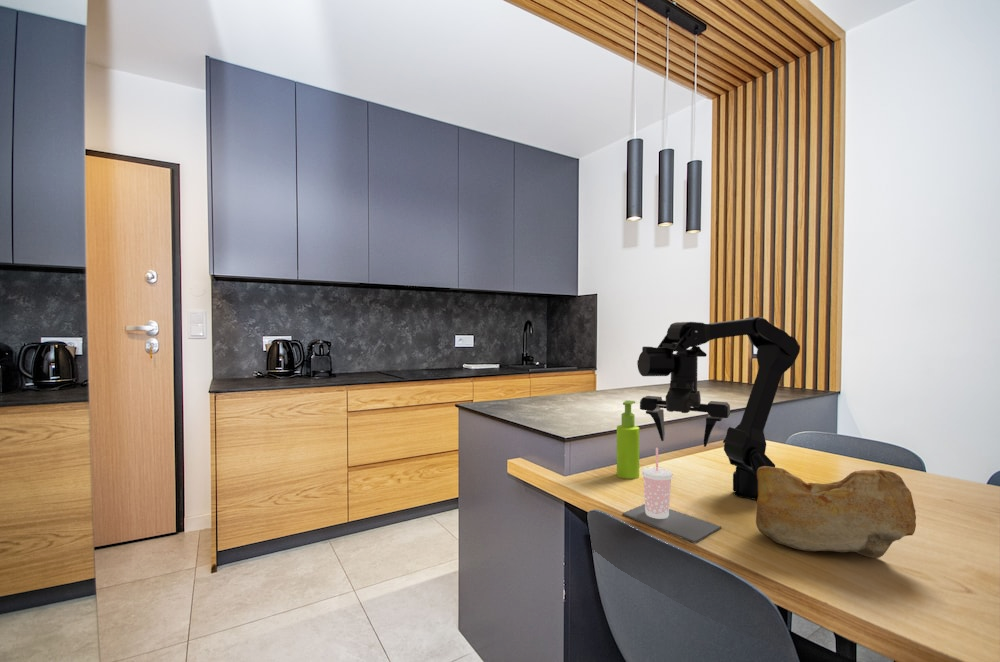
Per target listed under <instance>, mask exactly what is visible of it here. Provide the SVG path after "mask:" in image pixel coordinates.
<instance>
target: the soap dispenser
mask: <svg viewBox="0 0 1000 662" xmlns="http://www.w3.org/2000/svg"><path fill="white" fill-rule="evenodd" d="M633 404H636V401H635V400H625V401H623V403H622V405H624V412H623V413H621V424H618V425H617V426H616V476H617V477H619V478H621V479H627V480H635V479H639V478H640V427H639V426H637V425H635V419H636V418H635V417H636V416H635V413H633V412H632V405H633Z"/></svg>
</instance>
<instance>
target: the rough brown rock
mask: <svg viewBox="0 0 1000 662" xmlns="http://www.w3.org/2000/svg"><path fill="white" fill-rule="evenodd" d="M757 479H758V500H756V514H755V524H756V525H755V526H756V528H757V529H758V531H759V532H760V533H761V534H763V535H765V536H767V537H768V538H770V539H771V540H772V541H774V542H775V543H777V544H780V545H784V546H786V547H790V548H793V549H796V550H799V551H807V552H817V551H818V552H819V551H822V552H836V553H837V552H839V553H848V552H855V553H857V554H859V555H861V556H863V557H864V556H865V557H868V558H873V559H880V558H881V557H883V556H884V554H886V553H887V551H888V550H889V548H890V547H891V545H892V544H893V543H894V542H897V541H900V540H901V539H902V538H904V537H907V536H913V535H914V533H915V531H916V527H917V523H916V521H917V517H916V516H917V515H916V509H915V505H914V499H913V496H912V492H911V491H910V489H909V488H908V487H907V485H906V483H905V482H904V480H903V477H901V476H900V475H899V474H897V473H896V472H894V471H890V470H886V469H876V470H874V469H869V470H866V469H865V470H855V471H853V472H850V473H849V474H848V475H847V476H846V477H845V478H843V479H841V480H838V481H833V482H828V483H820V482H819V483H818V482H815V483H813V482H808V483H807V482H805V481H804V480H803V479H802V478H800V477H798V476H796V475H793V474H792V473H790V472H789V471H788V470H786V469H784V468H781V467H776V466H775V467H770V466H762V467H759V468H758V470H757Z"/></svg>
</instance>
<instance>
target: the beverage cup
mask: <svg viewBox="0 0 1000 662" xmlns="http://www.w3.org/2000/svg"><path fill="white" fill-rule="evenodd" d="M641 475H642V478H643V493H644V504H645V513H646V515H648V516H649V517H652V518H656V519H665V518H668V516H669V509H670V500H671V483H672V479H673V472H672V471H671V470H669V469H666V468H662V467H659V447H655V466H654V467H650V466H649V467H645V468H644V467H643V468H642V469H641Z"/></svg>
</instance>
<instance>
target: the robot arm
mask: <svg viewBox="0 0 1000 662" xmlns="http://www.w3.org/2000/svg"><path fill="white" fill-rule="evenodd" d="M739 336H740V337H741V336H747V337H748V339H749V341H750V344H751V345H752V346H753V347H755V348H756V349H757V350H756V351H757V352H756V360H757V364H758V365H757V366H758V370H757V373H756V375H755V376H756V377H755V378H754V379H755V380H754V382H753V386H752V388H751V391H750V394H749V397H748V399H747V403H746V406H745V409H744V411H743V414H742V418H741V420H740V423H739V424H738V425H737V426H735V428H734V427H731V426H729V427H728V428H727V430H726V436H725V437H724V440H722V443H723V451H724V452H725V455H726V456H727V458H728V461H729V464H730V465H732V466H735V471H734V472H733V474H732V491H733V492H734V496H735V497H740V498H745V499H750V500H756V501H757V500H758V479H757V470H758V468H759V467H762V466H770V467H776V464H775V463H774V462H773V461H772V460H771V459H770V458H769V457H768V456H767V455H766V451H767V450H766V449H767V442H766V441H767V440H766V436H765V433H764V430H765V428H766V424H767V422H768V420H769V419H768V418H769V415H770V412H771V409H772V406H773V403H774V400H775V397H776V395H777V393H778V392H777V391H778V389H779V385H780V383H781V380H782V376H783V375H784V374H785V372H787V371H788V370H789V369H790V368H792V366H794V364H795V362H796V360H797V358H798V356H799V354H800V350H801V346H800V344H799V342H798V339H796V337H794V336H791V335H790V334H788V332H786V331H785V330H784V329H783V330H782V329H781V328H779V327H777V326H775V325H773V324H771V323H770V322H769V321H768V320H767V319H766V318H763V317H761V316H754V317H753V316H751V317H750V316H749V317H745V318H744V319H743V318H742V319H735V320H734V319H733V320H726V321H719V322H718V321H716V322H709V323H708V322H699V321H681V322H678V321H677V322H674V323H671V324H670V325H669V327H668V328H667V331H666V335H665V336H664V337H663V339H662V340H661V342H660V343H659V345H658V346H657V347H653V346H642V349H641V350H642V351H641V353H640V354H639V356H638V359H637V362H636V365H637V370H638V373H639V374H640V375H641V376H642V377H669V376H670V381H669V388H668V390H667V394H666V395H665V400H664V399H663V398H662V396H655V395H646V396H643V397H642V398H641V399H640V401H639V410H642V411H645V414H647V415H650V416H651V419H652V420H653V422H654V423H655V426H656V429H657V432H658V435H659V438H660V441H661V442H664V441H665V434H666V433H665V431H666V430H665V414H664V409H666V411H667V412H671V413H673V412H679V413H681V414H688V413H690V412H699V413H707V416H706V417H705V429H704V436H703V447H707V445H708V442H709V440H710V437H711V434H712V432H713V429H714V427H715V425H716V424H717V422H722V420H724V419H727V418H729V417H730V415H731V405H730V404H729V403H728V402H727V401H717V400H716V401H715V400H714V401H713V400H711V401H710V400H709V402H708V403H701V402H702V401H701V392H700V390H698V359H699V358H698V357H700V358H702V357H703V358H704V357H707V353H706V352H705V351H704V350H703V349H701V347H700V345H701V346H702V345H704V344H707V343H708V342H710V341H713V340H715V339H716V340H717V339H723V338H724V339H725V338H732V337H739ZM674 352H676V353H674Z"/></svg>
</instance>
